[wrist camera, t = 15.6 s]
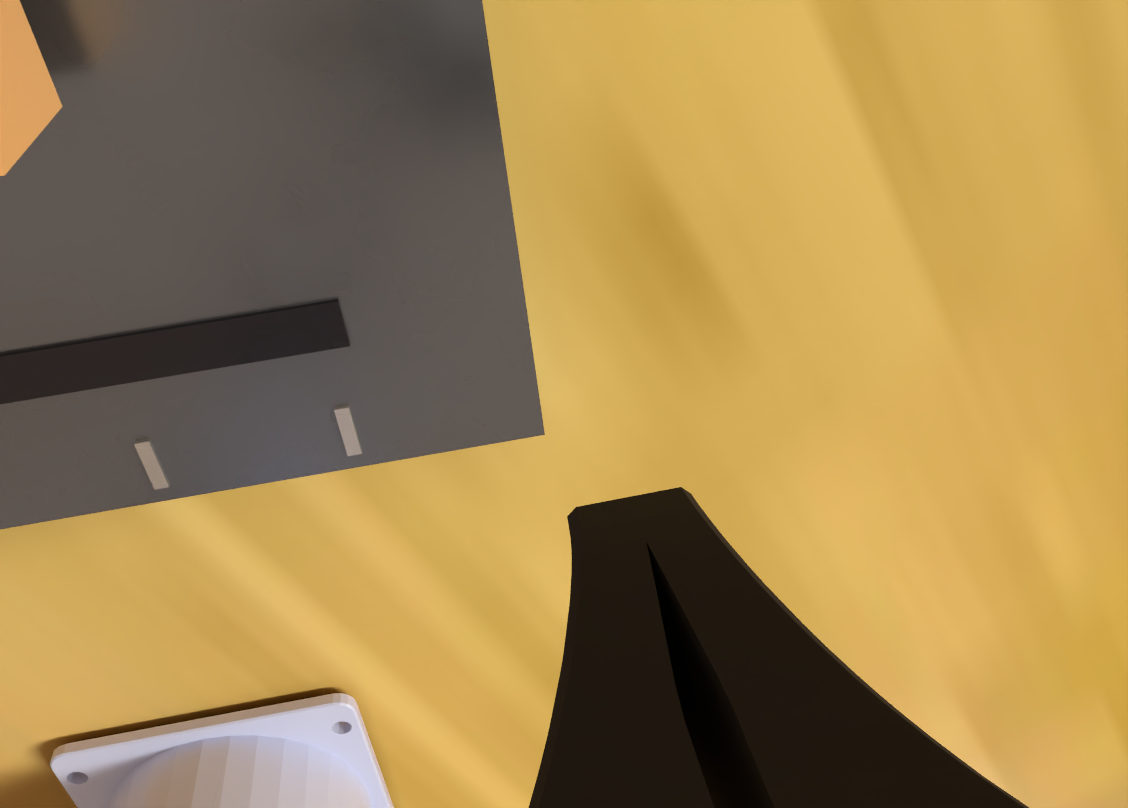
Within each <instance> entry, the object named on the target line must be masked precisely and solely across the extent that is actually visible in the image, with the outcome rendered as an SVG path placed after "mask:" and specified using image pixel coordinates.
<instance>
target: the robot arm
mask: <svg viewBox="0 0 1128 808" xmlns="http://www.w3.org/2000/svg"><path fill="white" fill-rule="evenodd" d="M568 524H569V530H570V536H571V547H572V576H571V594H570V606H569V614H568V622H567V631H566V639H565V647H564V655H563V661H562V667H561V672H560V677H559V683H558V688H557V693H556V698H555V703H554V708H553V713H552V718H551V723H550V728H549V732H548V737H547V741H546V745H545V749H544V753H543V757H542V761H541V765H540V769H539V773H538V777H537V780H536V784H535V787H534V791H533V794H532V798H531V801H530V805H529V808H1029V807H1027V806H1026V805H1024V804H1023V803H1022V802H1020V801H1019V800H1017V799H1016V798H1014V797H1013V796H1011V795H1010V794H1008V793H1007V792H1005V791H1004V790H1002V789H1001V788H999V787H998V786H996V785H995V784H993V783H992V782H991V781H989V780H988V779H986V778H985V777H983V776H982V775H981V774H979V773H978V772H976V771H975V770H974V769H972V768H971V767H970V766H969V765H967V764H966V763H965V762H963V761H962V760H961V759H959V758H958V757H957V756H955V755H954V754H953V753H951V752H950V751H949V750H947V749H946V748H945V747H943V746H942V745H941V744H939V743H938V742H937V741H935V740H934V739H933V738H932V737H930V736H929V735H928V734H927V733H925V732H924V731H923V730H922V729H920V728H919V727H918V726H917V725H915V724H914V723H913V722H912V721H910V720H909V719H908V718H907V717H905V716H904V715H903V714H902V713H901V712H899V711H898V710H897V709H896V708H894V707H893V706H892V705H891V704H890V703H888V702H887V701H886V700H885V699H884V698H883V697H881V696H880V695H879V694H878V693H877V692H876V691H874V690H873V689H872V688H871V687H870V686H869V685H868V684H867V683H865V682H864V681H863V680H862V679H861V678H860V677H859V676H857V675H856V674H855V673H854V672H853V671H852V670H851V669H850V668H849V667H848V666H847V665H846V664H844V663H843V662H842V661H841V660H840V659H839V658H838V657H837V656H836V655H835V654H834V653H833V652H832V651H830V650H829V649H828V648H827V647H826V646H825V645H824V644H823V643H822V642H821V641H820V640H819V639H818V638H817V637H816V636H815V635H814V634H813V633H812V632H811V631H810V630H809V629H808V628H807V627H806V626H805V625H804V624H803V623H802V622H801V621H800V620H799V619H798V618H797V617H796V616H795V615H794V614H793V613H792V612H791V611H790V610H789V609H788V608H787V607H786V606H785V605H784V604H783V603H782V602H781V601H780V600H779V599H778V597H777V596H776V595H775V594H774V593H773V592H772V591H771V590H770V589H769V588H768V587H767V586H766V585H765V584H764V583H763V582H762V581H761V579H760V578H759V577H758V576H757V575H756V574H755V573H754V572H753V571H752V570H751V568H750V567H749V566H748V565H747V564H746V563H745V562H744V560H743V559H742V558H741V557H740V556H739V555H738V553H737V552H736V551H735V550H734V549H733V548H732V546H731V545H730V544H729V543H728V542H727V540H726V539H725V538H724V537H723V536H722V534H721V533H720V532H719V531H718V529H717V528H716V527H715V526H714V524H713V523H712V522H711V520H710V519H709V518H708V517H707V515H706V514H705V513H704V511H703V510H702V509H701V507H700V506H699V505H698V503H697V502H696V500H695V499H694V497H693V496H692V495H691V493H689V492H688V491H686V490H685V489H683V488H682V487H679V488H674V489H669V490H663V491H658V492H653V493H648V494H642V495H637V496H632V497H627V498H622V499H616V500H611V501H606V502H601V503H595V504H590V505H585V506H580V507H576V508H575V509H574V510H573V511H572V512H571V513H570V514H569V515H568ZM344 721H345V722H344ZM50 767H51V770H52V771H53V772H54V774H55V775H56V777H57V778H58V780H59V781H60V783H61V784H62V786H63V787H64V789H65V790H66V792H67V793H68V794H69V796H70V797H71V799H72V800H73V802H74V803H75V805H76V806H77V808H394V807H393V804H392V801H391V798H390V795H389V793H388V790H387V787H386V784H385V781H384V779H383V776H382V773H381V770H380V767H379V764H378V762H377V759H376V756H375V753H374V750H373V748H372V745H371V742H370V739H369V736H368V734H367V731H366V728H365V725H364V722H363V719H362V717H361V714H360V711H359V708H358V705H357V703H356V701H355V699H354V698H353V697H351V696H349V695H348V694H343V693H333V694H328V695H322V696H317V697H312V698H306V699H301V700H296V701H290V702H285V703H280V704H274V705H269V706H264V707H258V708H253V709H248V710H242V711H237V712H232V713H226V714H221V715H216V716H210V717H205V718H200V719H194V720H189V721H184V722H179V723H173V724H168V725H163V726H157V727H152V728H147V729H141V730H136V731H131V732H125V733H120V734H115V735H109V736H104V737H99V738H93V739H88V740H83V741H77V742H72V743H67V744H64V745H61V746H59V747H57V748H56V749H55V750H54V752H53V755H52V758H51V761H50Z"/></svg>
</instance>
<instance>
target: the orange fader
mask: <svg viewBox="0 0 1128 808" xmlns="http://www.w3.org/2000/svg"><path fill="white" fill-rule="evenodd" d="M62 107H63V106H62V104H61V102H60V99H59V97H58V94H57V92H56V89H55V87H54V84H53V82H52V79H51V77H50V74H49V72H48V69H47V67H46V64H45V62H44V59H43V57H42V55H41V52H40V50H39V47H38V45H37V42H36V40H35V37H34V35H33V32H32V30H31V27H30V25H29V22H28V20H27V17H26V15H25V12H24V10H23V8H22V5H21V3H20V0H0V176H4V175H6V173H7V172H8V171H9V170H10V169H11V167H12V166H13V165H14V164H15V163H16V162H17V160H18V159H19V158H20V157H21V156H22V154H23V153H24V152H25V151H26V150H27V148H28V147H29V146H30V145H31V144H32V142H33V141H34V140H35V139H36V138H37V136H38V135H39V134H40V133H41V132H42V130H43V129H44V128H45V127H46V126H47V125H48V123H49V122H50V121H51V120H52V119H53V117H54V116H55V115H56V114H57V113H58V111H59V110H60V109H61V108H62Z"/></svg>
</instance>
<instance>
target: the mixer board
mask: <svg viewBox="0 0 1128 808" xmlns="http://www.w3.org/2000/svg"><path fill="white" fill-rule="evenodd" d="M20 3H21V5H22V8H23V10H24V12H25V15H26V17H27V20H28V22H29V25H30V27H31V30H32V32H33V35H34V37H35V40H36V42H37V45H38V47H39V50H40V52H41V55H42V57H43V59H44V62H45V64H46V67H47V69H48V72H49V74H50V77H51V79H52V82H53V84H54V87H55V89H56V92H57V94H58V97H59V99H60V102H61V104H62V106H63V107H62V108H61V109H60V110H59V111H58V113H57V114H56V115H55V116H54V117H53V119H52V120H51V121H50V122H49V123H48V125H47V126H46V127H45V128H44V129H43V130H42V132H41V133H40V134H39V135H38V136H37V138H36V139H35V140H34V141H33V142H32V144H31V145H30V146H29V147H28V148H27V150H26V151H25V152H24V153H23V154H22V156H21V157H20V158H19V159H18V160H17V162H16V163H15V164H14V165H13V166H12V167H11V169H10V170H9V171H8V172H7V173H6V175H4V176H0V529H5V528H10V527H16V526H22V525H28V524H33V523H39V522H45V521H51V520H56V519H62V518H68V517H74V516H79V515H85V514H91V513H97V512H102V511H108V510H114V509H120V508H125V507H131V506H137V505H143V504H148V503H154V502H160V501H166V500H171V499H177V498H183V497H189V496H194V495H200V494H206V493H212V492H217V491H223V490H229V489H235V488H240V487H246V486H252V485H258V484H263V483H269V482H275V481H281V480H286V479H292V478H298V477H304V476H309V475H315V474H321V473H327V472H332V471H338V470H344V469H350V468H355V467H361V466H367V465H373V464H378V463H384V462H390V461H396V460H401V459H407V458H413V457H419V456H424V455H430V454H436V453H442V452H447V451H453V450H459V449H465V448H470V447H476V446H482V445H488V444H493V443H499V442H505V441H511V440H516V439H522V438H528V437H534V436H539V435H545V434H544V427H543V420H542V413H541V406H540V399H539V392H538V385H537V378H536V371H535V364H534V358H533V351H532V344H531V337H530V330H529V323H528V316H527V309H526V302H525V295H524V288H523V281H522V274H521V268H520V261H519V254H518V247H517V240H516V233H515V226H514V219H513V212H512V205H511V198H510V191H509V184H508V177H507V171H506V164H505V157H504V150H503V143H502V136H501V129H500V122H499V115H498V108H497V101H496V94H495V87H494V81H493V74H492V67H491V60H490V53H489V46H488V39H487V32H486V25H485V18H484V11H483V4H482V0H20Z"/></svg>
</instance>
